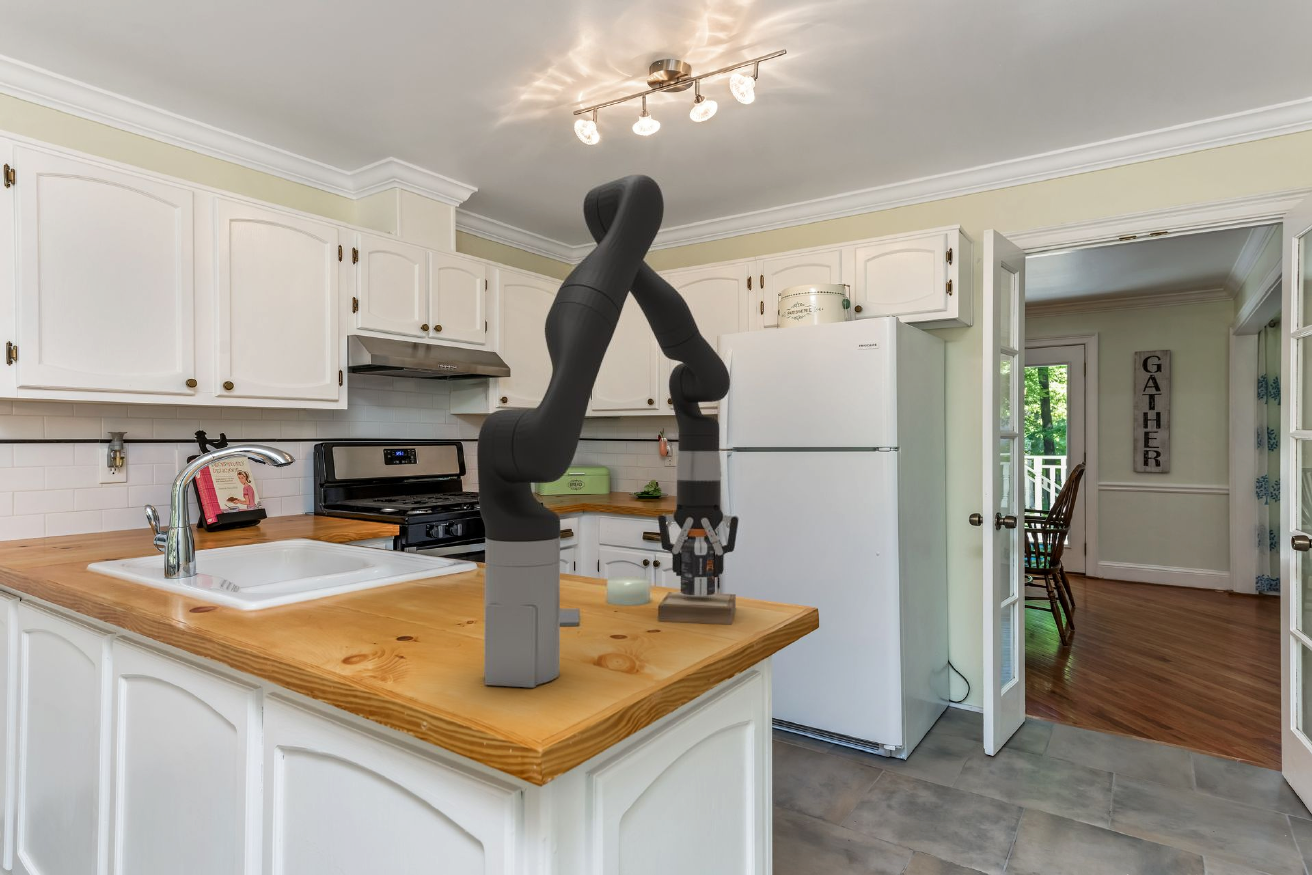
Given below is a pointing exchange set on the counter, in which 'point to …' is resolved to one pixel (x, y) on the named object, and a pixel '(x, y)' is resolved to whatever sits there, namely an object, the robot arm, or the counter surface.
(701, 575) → the pill bottle
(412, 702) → the counter surface
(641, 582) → the pale green puck
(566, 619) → the coaster
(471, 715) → the counter surface
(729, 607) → the riser
